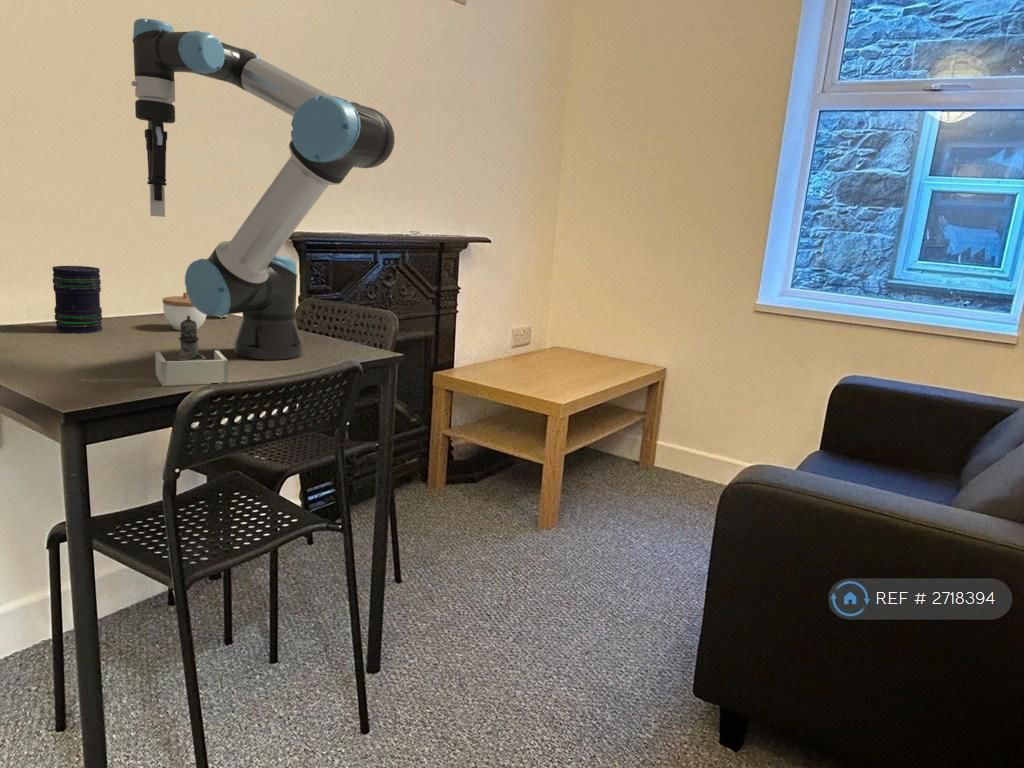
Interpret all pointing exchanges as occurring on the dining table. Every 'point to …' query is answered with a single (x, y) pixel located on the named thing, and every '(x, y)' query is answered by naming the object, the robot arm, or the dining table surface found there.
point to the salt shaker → (188, 342)
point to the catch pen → (191, 371)
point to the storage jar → (77, 299)
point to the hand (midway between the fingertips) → (157, 216)
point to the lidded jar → (181, 311)
